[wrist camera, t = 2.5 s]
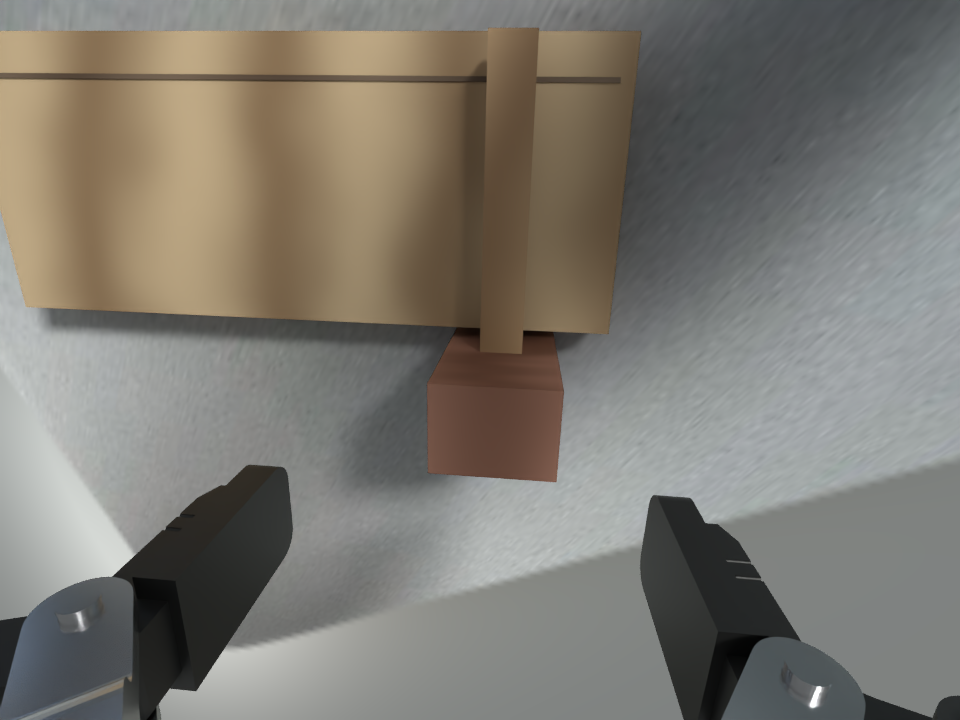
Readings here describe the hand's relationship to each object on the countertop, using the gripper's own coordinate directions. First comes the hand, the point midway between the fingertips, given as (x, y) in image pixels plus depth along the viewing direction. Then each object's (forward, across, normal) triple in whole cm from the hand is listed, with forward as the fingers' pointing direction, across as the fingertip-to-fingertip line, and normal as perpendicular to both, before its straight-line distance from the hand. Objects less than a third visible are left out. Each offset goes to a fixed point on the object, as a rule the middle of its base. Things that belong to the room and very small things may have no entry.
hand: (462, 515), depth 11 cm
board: (+12, +8, -7) cm, 15 cm away
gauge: (+11, 0, -5) cm, 12 cm away
